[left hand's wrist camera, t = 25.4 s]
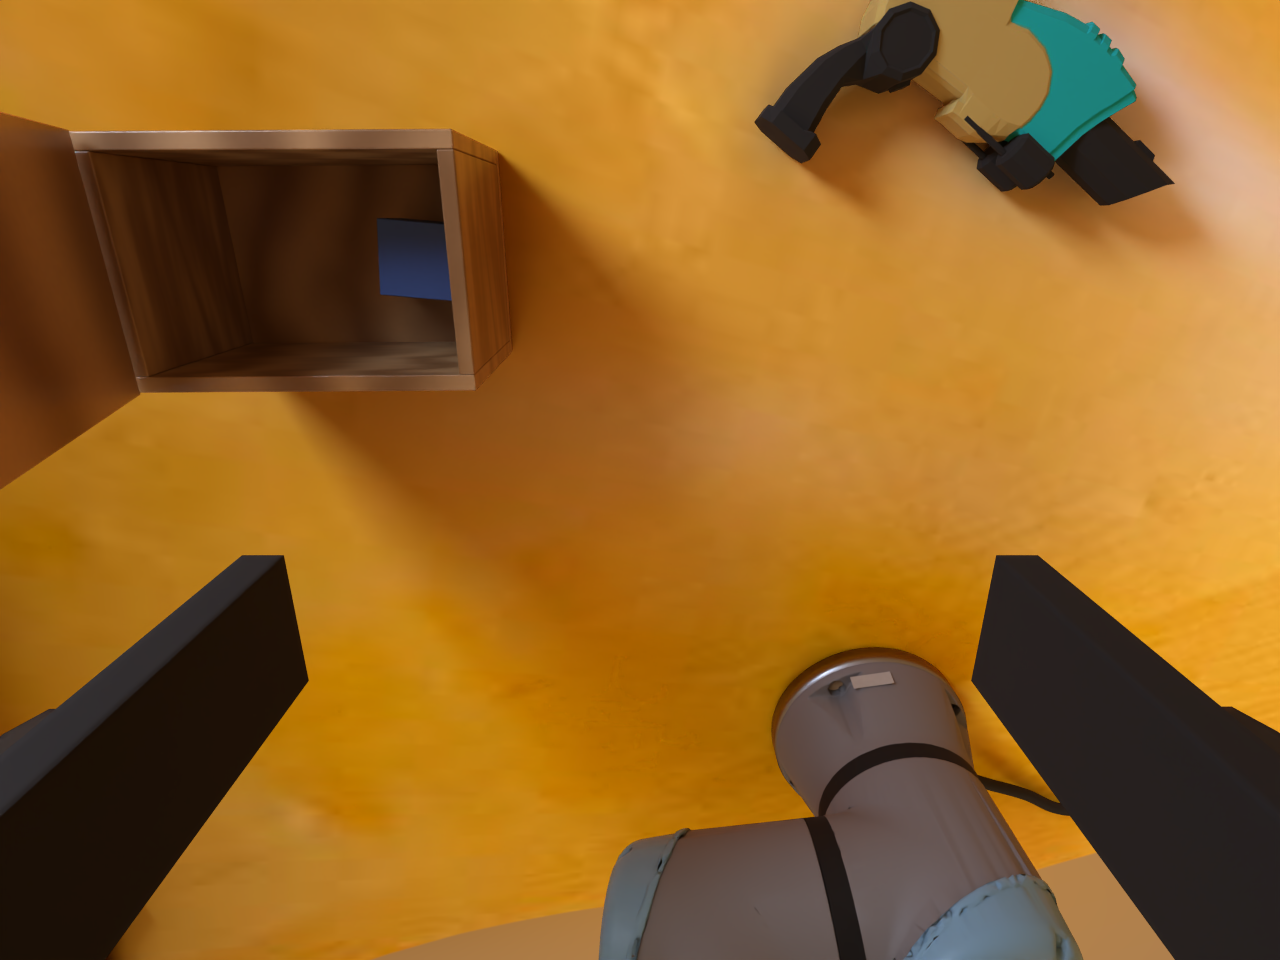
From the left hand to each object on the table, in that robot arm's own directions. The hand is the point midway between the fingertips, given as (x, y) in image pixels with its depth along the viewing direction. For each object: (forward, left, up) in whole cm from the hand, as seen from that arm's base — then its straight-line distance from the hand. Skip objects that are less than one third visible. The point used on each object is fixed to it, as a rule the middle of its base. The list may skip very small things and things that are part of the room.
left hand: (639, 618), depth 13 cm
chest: (+18, -1, -35) cm, 39 cm away
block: (+14, -2, -34) cm, 37 cm away
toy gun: (-15, -17, -35) cm, 41 cm away
